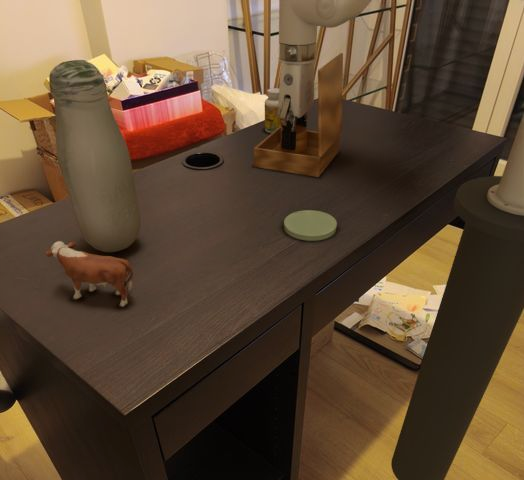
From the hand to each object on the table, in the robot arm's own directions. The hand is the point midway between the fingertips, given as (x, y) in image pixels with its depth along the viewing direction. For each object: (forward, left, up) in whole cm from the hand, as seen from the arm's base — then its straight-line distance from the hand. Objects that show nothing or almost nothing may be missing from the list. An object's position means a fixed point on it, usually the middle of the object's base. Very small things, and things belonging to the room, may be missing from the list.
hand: (293, 143), depth 108 cm
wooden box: (-1, 0, -4) cm, 4 cm away
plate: (-14, +29, -4) cm, 32 cm away
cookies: (0, 0, -3) cm, 3 cm away
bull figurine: (+9, +61, -4) cm, 62 cm away
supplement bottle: (+11, -16, -4) cm, 20 cm away
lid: (-8, 0, +9) cm, 12 cm away
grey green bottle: (+15, +48, -4) cm, 50 cm away
